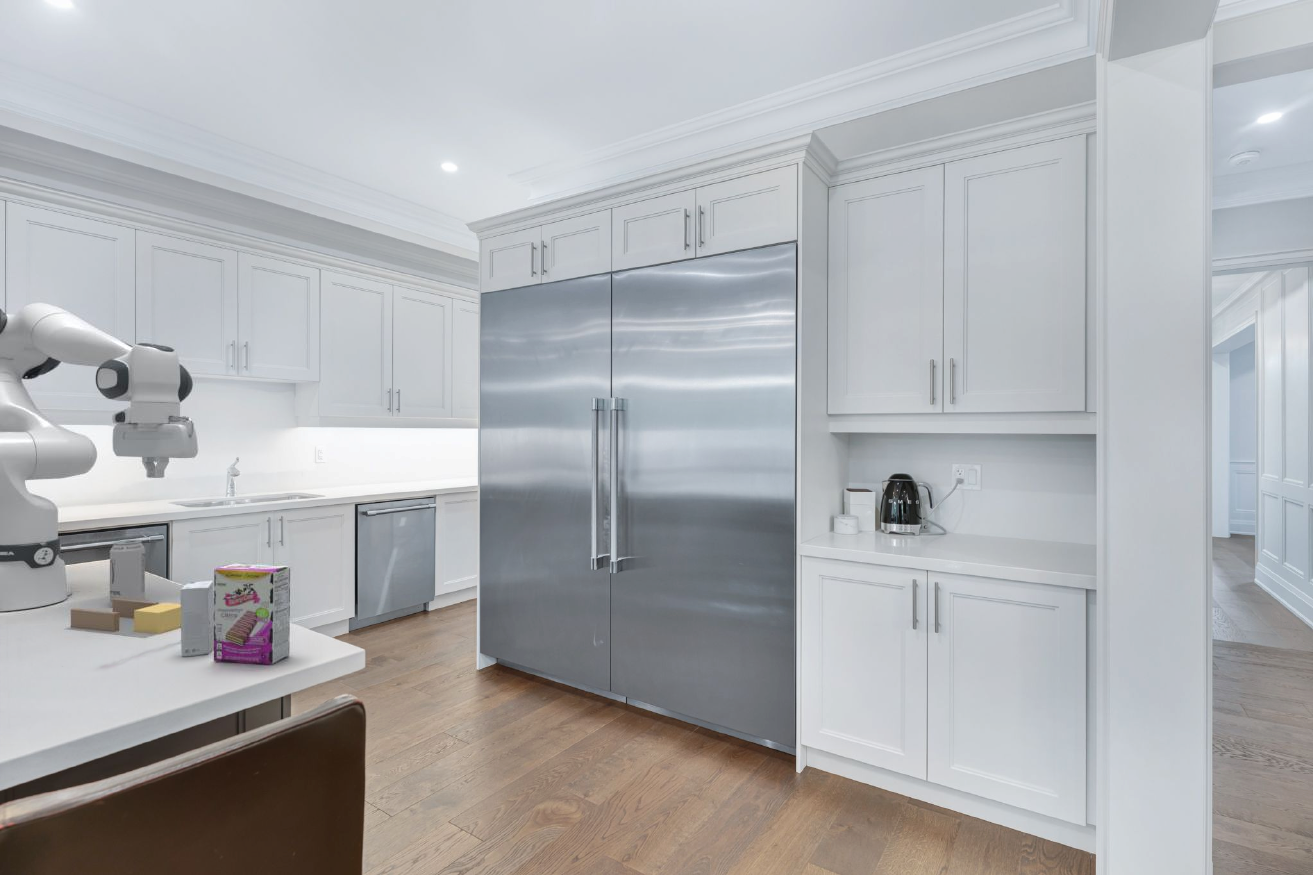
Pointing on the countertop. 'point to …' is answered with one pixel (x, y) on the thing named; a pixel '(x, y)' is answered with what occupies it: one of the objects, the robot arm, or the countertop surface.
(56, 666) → the countertop surface
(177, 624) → the ochre block
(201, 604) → the skincare box
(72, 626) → the chute
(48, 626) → the countertop surface
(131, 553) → the energy drink can
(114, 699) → the countertop surface
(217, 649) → the candy bar box
